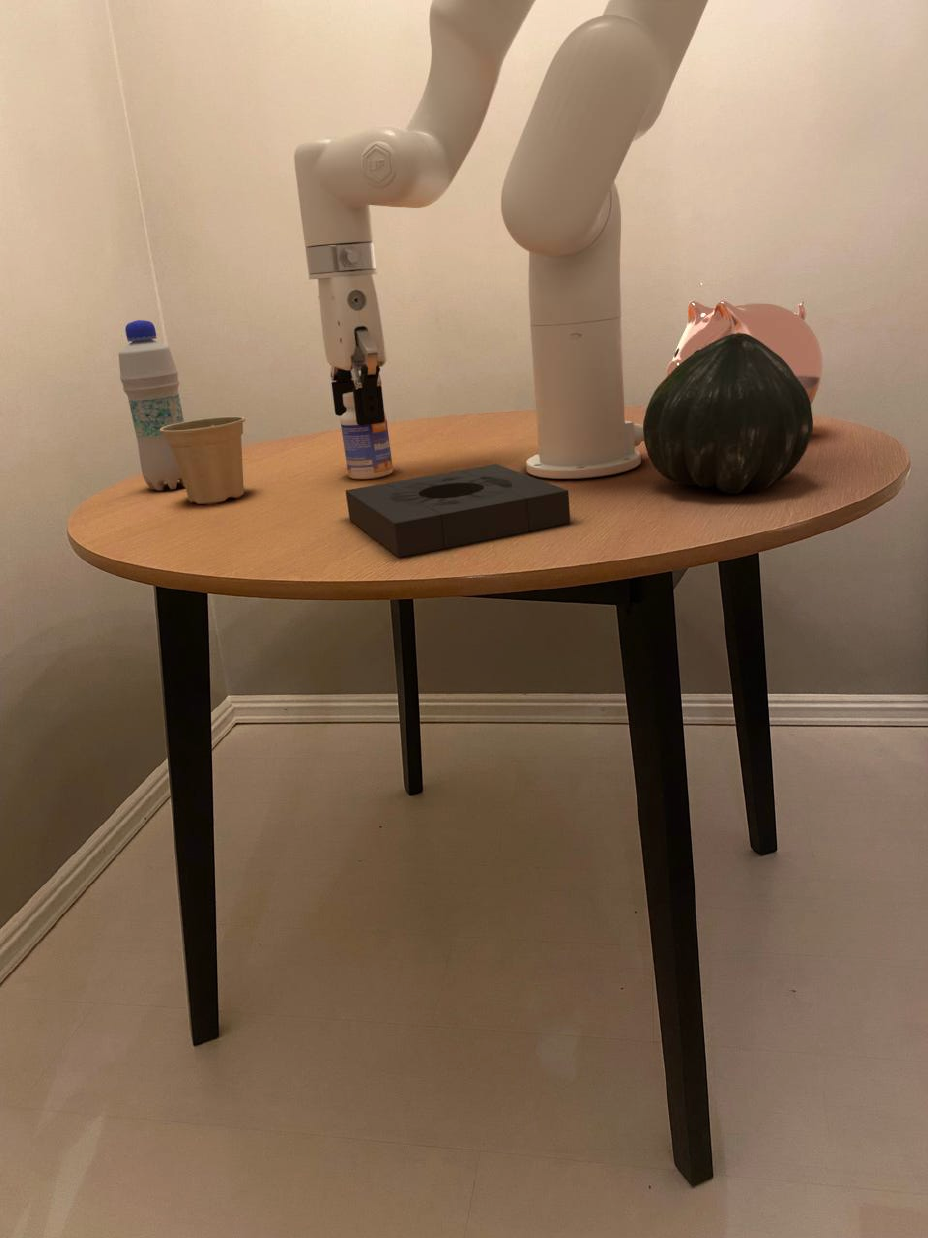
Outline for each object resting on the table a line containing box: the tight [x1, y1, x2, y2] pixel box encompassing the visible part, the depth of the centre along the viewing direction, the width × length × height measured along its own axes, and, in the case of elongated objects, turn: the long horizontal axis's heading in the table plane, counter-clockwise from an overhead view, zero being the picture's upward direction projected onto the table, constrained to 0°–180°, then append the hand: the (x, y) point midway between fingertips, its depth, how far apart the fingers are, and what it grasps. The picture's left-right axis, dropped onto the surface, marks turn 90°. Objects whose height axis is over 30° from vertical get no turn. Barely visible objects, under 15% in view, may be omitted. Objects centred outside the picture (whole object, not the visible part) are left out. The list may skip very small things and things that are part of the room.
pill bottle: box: [339, 392, 394, 480], centre depth 110 cm, size 5×5×10 cm
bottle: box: [117, 319, 185, 492], centre depth 114 cm, size 7×7×20 cm
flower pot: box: [160, 415, 246, 505], centre depth 107 cm, size 9×9×9 cm
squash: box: [642, 333, 814, 495], centre depth 88 cm, size 14×15×15 cm
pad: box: [345, 463, 571, 559], centre depth 87 cm, size 16×16×3 cm
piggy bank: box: [665, 300, 823, 437], centre depth 108 cm, size 15×18×16 cm
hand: (359, 418), depth 110 cm, fingers open, 9 cm apart
